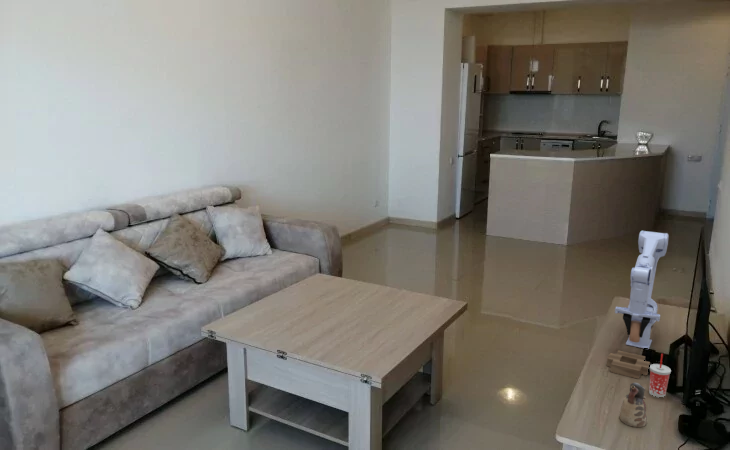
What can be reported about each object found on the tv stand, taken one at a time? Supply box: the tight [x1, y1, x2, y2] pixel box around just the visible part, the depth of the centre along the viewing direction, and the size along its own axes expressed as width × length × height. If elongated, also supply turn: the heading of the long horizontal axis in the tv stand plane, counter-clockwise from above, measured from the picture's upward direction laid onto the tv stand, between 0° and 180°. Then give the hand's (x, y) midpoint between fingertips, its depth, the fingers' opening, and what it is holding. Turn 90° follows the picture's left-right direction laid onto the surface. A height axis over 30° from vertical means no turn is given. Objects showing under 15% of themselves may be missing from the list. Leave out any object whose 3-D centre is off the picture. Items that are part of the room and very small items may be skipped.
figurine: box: [619, 382, 647, 428], centre depth 165 cm, size 7×7×12 cm
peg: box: [628, 320, 641, 342], centre depth 204 cm, size 4×4×7 cm
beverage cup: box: [648, 353, 672, 398], centre depth 179 cm, size 6×6×14 cm
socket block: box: [606, 349, 651, 380], centre depth 198 cm, size 13×13×3 cm
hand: (634, 335), depth 204 cm, fingers closed on peg, 3 cm apart
